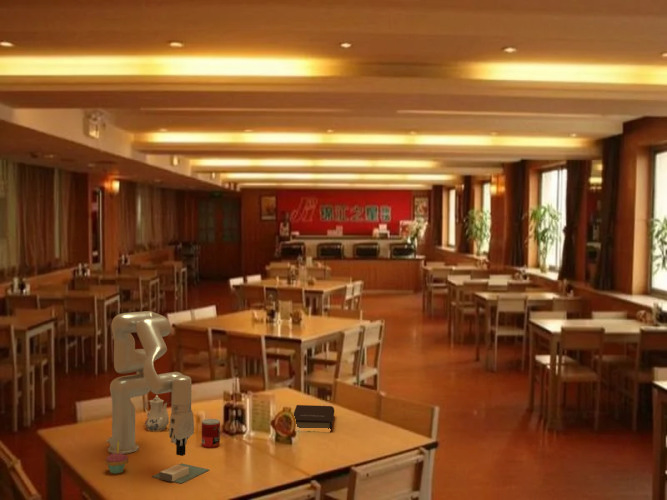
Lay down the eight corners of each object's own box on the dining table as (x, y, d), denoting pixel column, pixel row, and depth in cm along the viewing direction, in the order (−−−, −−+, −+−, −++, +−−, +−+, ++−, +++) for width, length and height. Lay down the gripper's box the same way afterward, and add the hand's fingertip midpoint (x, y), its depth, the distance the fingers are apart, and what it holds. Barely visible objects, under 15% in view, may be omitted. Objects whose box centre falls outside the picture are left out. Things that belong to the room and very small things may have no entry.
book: (331, 433, 334) (332, 421, 334) (291, 432, 335) (291, 419, 335) (334, 417, 362) (334, 406, 362) (296, 416, 363) (296, 404, 363)
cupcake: (108, 467, 280) (108, 438, 280) (130, 467, 281) (130, 437, 280) (103, 475, 272) (103, 444, 271) (125, 475, 272) (125, 444, 272)
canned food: (216, 449, 306) (216, 423, 306) (198, 447, 308) (199, 422, 308) (222, 443, 314) (222, 419, 314) (205, 442, 316) (205, 417, 315)
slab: (176, 471, 277) (159, 478, 268) (176, 464, 277) (159, 472, 268) (188, 473, 274) (171, 481, 265) (188, 467, 274) (171, 475, 265)
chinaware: (194, 432, 336) (197, 397, 337) (168, 437, 322) (171, 400, 323) (153, 422, 351) (157, 388, 352) (127, 426, 337) (130, 391, 338)
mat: (152, 477, 271) (152, 476, 271) (181, 464, 286) (181, 463, 286) (181, 483, 265) (181, 482, 264) (209, 470, 280) (209, 469, 280)
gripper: (176, 413, 266) (175, 462, 266) (201, 405, 279) (200, 451, 279) (160, 411, 269) (160, 458, 270) (186, 402, 282) (185, 448, 283)
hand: (180, 454), depth 275 cm, fingers closed
